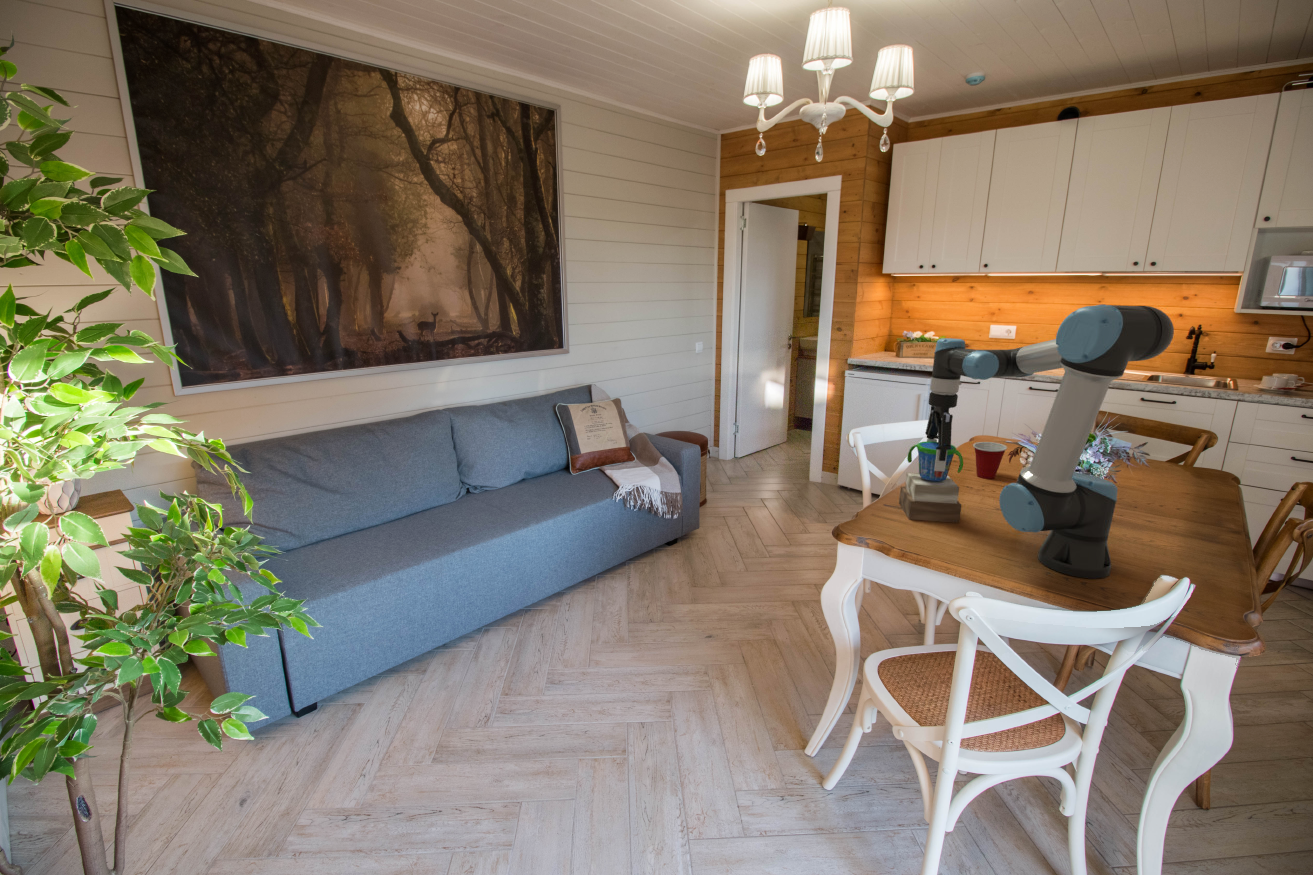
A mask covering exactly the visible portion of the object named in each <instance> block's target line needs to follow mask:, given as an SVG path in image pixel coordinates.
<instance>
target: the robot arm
mask: <svg viewBox="0 0 1313 875" xmlns="http://www.w3.org/2000/svg"><path fill="white" fill-rule="evenodd" d="M1174 331H1175V328H1174V323H1173V322H1172V320H1171V318H1170V316H1168V315H1167V314H1166V313H1165V312H1164V311H1162V310H1161V309H1159V308H1158V307H1157V308H1156V307H1153V306H1148V305H1119V304H1118V305H1116V304H1114V305H1113V304H1103V303H1102V304H1096V305H1087V306H1083V307H1079V308H1077V309H1076V310H1075V311H1072V312H1071V313H1070V314H1068V315H1067V316H1066V317H1065V318H1064V319H1063V321H1062V322H1061V323H1060V325H1059V327H1058V330H1057V332H1056V336H1055V337H1056V338H1054V339H1051V340H1047V341H1042V342H1041V341H1040V342H1038V343H1037V342H1036V343H1034V344H1028V345H1024V346H1021V347H1017V348H1011V349H972V348H966V341H965V340H964V339H961V338H947V337H946V338H939V339H938V340H937V341H936V346H935V350H934V356H933V362H932V363H933V365H932V373H931V378H930V379H931V380H930V387H929V390H930V392H929V394H928V395H929V396H928V405H930V412H929V416H928V421H927V425H926V429H925V435H926V442H938V447H936V449H937V453H936V460H935V468H934V471H944V472H945V466H946V459H947V451H948V449H949V450H950V449H951V445H952V429H953V428H952V425H953V418H954V416H953V414H951V413H950V409H951V408H952V409H953V408H956V407H957V406H958V398H959V395H958V393H959V390H960V386H961V385H962V382H961V377H967V378H969V379H972V380H980V381H981V380H982V381H983V380H989V379H992V378H1024V377H1030V376H1032V375H1034V374H1035V373H1040V372H1041V373H1042V372H1048V371H1052V370H1058V369H1063V370H1064V373H1063V376H1062V379H1061V382H1060V384H1059V387H1058V390H1057V392H1056V395H1055V398H1054V399H1053V400H1054V401H1053V403H1052V406H1051V409H1050V411H1049V414H1048V417H1047V419H1046V423H1045V425H1044V428H1043V430H1042V434H1041V436H1040V438H1039V441H1038V444H1037V447H1036V450H1035V452H1034V454H1033V457H1032V461H1031V463H1030V465H1028V466H1026V467H1023V468H1022V469H1021V470H1019V471H1020V472H1019V474H1018V477H1017V480H1016V482H1011V483H1009V484H1008V485H1007V484H1006V485H1005V486H1004V487H1003V488H1002V490H1001V491H1000V493H999V508H1000V511H1001V513H1002V517H1003V518H1004V519H1005V522H1006V523H1008V525H1009V526H1011V527H1012V528H1013V529H1014V530H1016V531H1018V532H1023V533H1034V534H1035V533H1039V532H1047V531H1048V532H1049V533H1048V535H1047V536H1046V538H1045V539H1044V540H1043V542H1042V544H1041V546H1040V548H1039V550H1038V554H1037V560H1038V561H1039V562H1040V564H1042V565H1044V566H1045V567H1047V568H1049V569H1051V570H1053V571H1056V572H1058V573H1061V574H1064V575H1067V576H1071V577H1076V578H1083V579H1093V580H1094V579H1104V578H1107V577H1108V576H1110V573H1111V569H1112V562H1111V561H1112V560H1111V556H1110V551H1109V545H1108V541H1109V540H1108V539H1109V534H1110V530H1111V525H1112V521H1113V517H1114V513H1115V509H1116V503H1117V502H1118V499H1117V498H1118V487H1117V485H1116V484H1115V483H1114V482H1112V481H1110V480H1108V479H1104V478H1101V477H1099V476H1094V475H1091V474H1086V473H1081V472H1075V471H1076V469H1077V466H1078V464H1079V462H1080V459H1081V456H1082V454H1083V451H1084V449H1085V447H1086V444H1087V441H1088V439H1089V437H1090V434H1091V432H1092V429H1093V427H1094V424H1095V422H1096V419H1097V417H1098V414H1099V412H1100V411H1101V410H1100V409H1101V407H1102V404H1103V402H1104V399H1105V398H1106V394H1107V392H1108V390H1109V388H1110V385H1111V382H1113V381H1115V380H1117V379H1120V378H1121V377H1123V376H1124V373H1125V370H1126V369H1127V367H1128V363H1129V362H1142V361H1147V360H1150V359H1151V360H1152V359H1153V358H1156V357H1157V356H1159V355H1161V354H1162V353H1164V352H1165V351H1166V350H1167V349H1168V348H1169V346H1170V345H1171V342H1172V341H1173V339H1174V335H1175V334H1174V333H1175V332H1174ZM944 444H945V445H944Z"/></svg>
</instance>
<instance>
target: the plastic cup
mask: <svg viewBox="0 0 1313 875" xmlns="http://www.w3.org/2000/svg"><path fill="white" fill-rule="evenodd" d="M972 447H973V448H974V453H975V467H976V476H977V477H978V478H980V479H986V480H994V479H995V477H996V476H997V473H998V470H999V468H1000V466H1001V462H1002V460H1003V456H1004V454H1005V452H1006V450H1007V449H1008V446H1007V445H1005V444H1003V443H999V442H994V441H993V442H992V441H978V442H975V443H973V445H972Z"/></svg>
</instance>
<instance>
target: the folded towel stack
mask: <svg viewBox="0 0 1313 875" xmlns="http://www.w3.org/2000/svg"><path fill="white" fill-rule="evenodd" d="M904 485H905V486H900V490H899V491H900V494H899V498H898V499H899V500H898V504H899V505H900V507H901V509H902V510H903V512H904V513H905V516H906V517H907V519H908V520H912V521H914V520H915V521H927V522H942V523H954V524H955V523H956V524H959V523H960V518H961V514H962V513H961V512H962V507H963V506H962V504H961V502H959V501H958V500H959V493H960V487H959V485H958V484H957V483H956V482H955V481H954V480H953V479H952V478H951V477H950V476H949V475H948V476H947V478H946V480H943V481H931V480H926V479H923V478H921V477H920V475H919V472H906V476H905V484H904Z"/></svg>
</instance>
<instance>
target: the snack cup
mask: <svg viewBox="0 0 1313 875" xmlns="http://www.w3.org/2000/svg"><path fill="white" fill-rule="evenodd" d="M944 445H945V444H944ZM936 447H938V441H937V442H927V441H921V442H920V441H919V442H918V443H916V444H914V445H912V446H911V447H910V448H909V451H908V453H907V458H906V459H907V463H909V464H910V463H912V461H913V459H912V458H913V454H912V452H913V450H915V448H916V449H917V453H918V473H919V475H920V477H921V478H923V479H926V480H931V481H943V480H946V478H947V476H949V475H948V474H949V471H950V469H951V465H952V461H953V458H954V456H955V455H956V456H957V457H958V460H959V464H958V468H957V469H958V470H957V473H961V472H962V470H963V468H964V458H963V455H962V453H961V452H960V451H959V450H957V448H956V446H955V445H953V444H951V449H950V450H949V449H948V451H947V459H946V466H945V472H944V471H934V468H935V460H936V453H937V449H936Z"/></svg>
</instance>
